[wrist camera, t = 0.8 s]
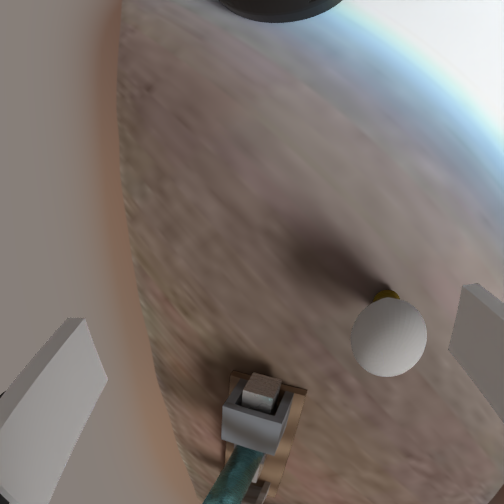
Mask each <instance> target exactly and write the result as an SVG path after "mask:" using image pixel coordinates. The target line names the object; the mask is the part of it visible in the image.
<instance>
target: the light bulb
mask: <svg viewBox="0 0 504 504" xmlns="http://www.w3.org/2000/svg"><path fill="white" fill-rule="evenodd" d="M426 340H427V330H426V325H425V322H424V320H423V317H422V316H421V314H420V313H419V311H418V310H417V309H416V308H415V307H414V306H412V305H411V304H410V303H408V302H406V301H404V300H400V298H399V296H398V294H397V293H395V292H394V291H392V290H383V291H381V292H379V293H378V294H376V296H375V297H374V299H373V303H372V304H370V305H369V306H367V307H366V308H365V309H364V310H363V311H362V312H361V313H360V314H359V315H358V317H357V319H356V321H355V322H354V325H353V328H352V332H351V347H352V351H353V354H354V357H355V358H356V360H357V362H358V363H359V364H360V365H361V366H362V367H363V368H364V369H365V370H366V371H368V372H370V373H372V374H374V375H377V376H383V377H390V376H396V375H399V374H402V373H404V372H406V371H408V370H409V369H410V368H412V367H413V366H414V365H415V364H416V363H417V362H418V360H419V359H420V357H421V356H422V354H423V352H424V349H425V346H426Z"/></svg>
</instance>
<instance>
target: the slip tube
mask: <svg viewBox="0 0 504 504" xmlns="http://www.w3.org/2000/svg"><path fill="white" fill-rule="evenodd" d="M280 385H281V380H280V379H276V378H273V377H269V376H265V375H262V374H258V373H255V372H253V374H252V375H251V377H250V379H249V381H248V382H247V384H246V386H245V387H244V389H243V394H242V404H241V406H242V407H245V408H248V409H252V410H255V411H258V412H262V413H265V414H269V415H272V416H275V411H276V406H277V401H278V396H279V391H280ZM267 455H268V454H266V453H262V452H259V451H256V450H252V449H249V448H246V447H243V446H240V445H237V444H234V450H233V452H232V454H231V456H230V457H229V459H228V461H227V463H226V465H225V466H224V468H223V470H222V471H221V473H220V475H219V477H218V478H217V480H216V482H215V483H214V485H213V487H212V489H211V490H210V492H209V494H208V495H207V497H206V499H205V500H204V502H203V503H202V504H241V502H242V500H243V498H244V496H245V494H246V492H247V490H248V488H249V486H250V484H251V482H254V483H256V482H257V480H258V478H259V476H260V474H261V471H262V469H263V467H264V462H265V460H266V457H267Z"/></svg>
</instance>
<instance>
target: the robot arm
mask: <svg viewBox="0 0 504 504" xmlns="http://www.w3.org/2000/svg"><path fill="white" fill-rule="evenodd" d="M219 1H220V2H221V3H222V4H223V5H225V6H226V7H227V8H228V9H230V10H231V11H232V12H234V13H236V14H238V15H240V16H242V17H245V18H248V19H251V20H255V21H260V22H269V23H284V22H293V21H299V20H303V19H307V18H310V17H313V16H316V15H319V14H321V13H323V12H325V11H327V10H329V9H331V8H332V7H334V6H336V5H337V4H338V3H340V2H341V1H342V0H219ZM448 350H449V351H450V352H451V354H452V355H453V356H454V357H455V359H456V360H457V361H458V363H459V364H460V365H461V366H462V368H463V369H464V370H465V371H466V373H467V374H468V375H469V377H470V378H471V379H472V381H473V382H474V383H475V384H476V386H477V387H478V388H479V390H480V391H481V393H482V394H483V395H484V397H485V398H486V399H487V401H488V402H489V403H490V405H491V406H492V408H493V409H494V410H495V412H496V413H497V415H498V416H499V417H500V419H501V420H502V422H503V423H504V303H503V302H501V301H500V300H499V299H498V298H496V297H495V296H494V295H493V294H491V293H490V292H489V291H487V290H486V289H485V288H483V287H482V286H481V285H480V284H478V283H475V284H469V285H463V286H462V290H461V296H460V301H459V306H458V311H457V315H456V320H455V324H454V329H453V333H452V337H451V341H450V345H449V348H448ZM107 381H108V378H107V376H106V374H105V371H104V369H103V366H102V364H101V361H100V359H99V356H98V353H97V351H96V348H95V345H94V343H93V340H92V337H91V334H90V331H89V329H88V326H87V323H86V320H85V318H67V319H66V321H65V322H64V323H63V324H62V325H61V326H60V327H59V328H58V329H57V331H56V332H55V333H54V334H53V335H52V336H51V337H50V338H49V340H48V341H47V342H46V343H45V344H44V345H43V347H42V348H41V349H40V350H39V351H38V352H37V354H36V355H35V356H34V357H33V358H32V360H31V361H30V362H29V363H28V364H27V365H26V367H25V368H24V369H23V370H22V372H21V373H20V374H19V375H18V376H17V378H16V379H15V380H14V381H13V383H12V384H11V385H10V387H9V388H8V389H7V390H6V391H5V392H3V393H2V394H1V395H0V504H9V503H10V504H49V501H50V499H51V497H52V494H53V492H54V490H55V488H56V485H57V483H58V481H59V478H60V476H61V474H62V472H63V470H64V467H65V465H66V463H67V461H68V459H69V457H70V455H71V452H72V450H73V448H74V446H75V444H76V442H77V440H78V438H79V436H80V434H81V431H82V429H83V428H84V426H85V423H86V422H87V419H88V417H89V416H90V414H91V411H92V410H93V408H94V406H95V404H96V401H97V400H98V398H99V396H100V394H101V392H102V390H103V388H104V386H105V384H106V382H107Z"/></svg>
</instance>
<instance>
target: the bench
mask: <svg viewBox="0 0 504 504" xmlns="http://www.w3.org/2000/svg"><path fill="white" fill-rule="evenodd" d="M250 377H251V375H248V374H244V373H241V372H237V371H234V370H233V372H232V373H231V375H230V386H229V397H228V399H227V400H226V402H225V403H224V405H223V411H222V435H221V439H222V440H225V441H226V452H225V465H226V463H227V461H228V459H229V457H230V456H231V454H232V452H233V450H234V444H237V445H240V446H243V447H246V448H249V449H252V450H256V451H259V452H262V453H266V454H268V455H267V457H266V460H265V462H264V467H263V469H262V471H261V474H260V476H259V478H258V480H257V482H256V483H254V482H251V484H250V486H249V488H248V490H247V492H246V494H245V496H244V498H243V500H242V502H241V504H263V502H264V500H265V498H266V496H270V497H273V498H275V495H276V493H277V490H278V487H279V484H280V481H281V478H282V475H283V472H284V469H285V466H286V462H287V459H288V456H289V453H290V449H291V446H292V443H293V440H294V436H295V433H296V429H297V426H298V422H299V419H300V415H301V412H302V408H303V404H304V401H305V397H306V393H307V390H304V389H300V388H296V387H292V386H288V385H284V384H281V385H280V391H279V396H278V401H277V406H276V411H275V416H272V415H269V414H265V413H262V412H258V411H255V410H252V409H248V408H245V407H242V406H241V404H242V394H243V389H244V387H245V386H246V384H247V382H248V381H249V379H250Z"/></svg>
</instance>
